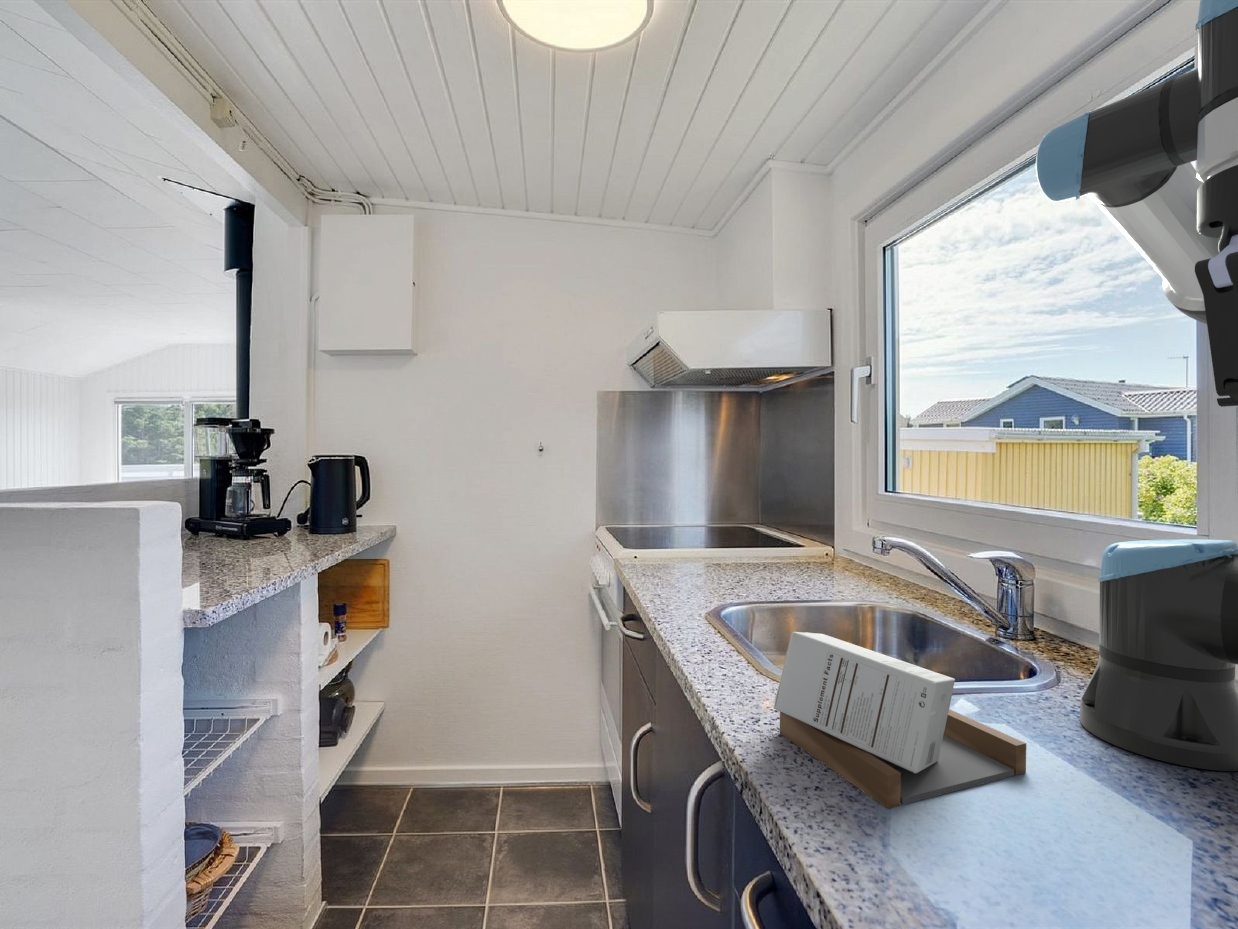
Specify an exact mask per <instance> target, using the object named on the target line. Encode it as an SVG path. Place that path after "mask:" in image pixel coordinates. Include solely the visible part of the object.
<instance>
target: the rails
mask: <svg viewBox="0 0 1238 929" xmlns="http://www.w3.org/2000/svg"><path fill="white" fill-rule="evenodd" d="M779 734H780V735H782V736H783V737H784V738H786V739H788V740H789V741H790V742H792V743H793V744H794V745H795V746H797V747H799V748H800V749H802V750H803V751H805V752H806V753H808V754H809V755H810V756H811V757H813V758H815V759H816V760H818V762H820V763H821V764H823V765H824V766H826V767H828V768H829V769H830V770H832V771H833V772H834V773H836V774H837V775H839V776H840V777H842V778H843V779H845V780H846V781H848V782H849V783H850V784H852V785H853V786H855V787H856V788H857V789H859V790H860V791H862V792H863V793H864V794H866V795H867V796H869V797H870V798H872V799H873V800H875V801H876V802H877V803H879V804H880V805H882V806H884V808H886V809H892V808H895V807H899V806H901V804H900V790H901V773H900V772H899V771H897V770H895V769H894V768H892V767H890V766H889V765H887V764H885V763H884V762H882V761H881V760H879V759H877V758H876V757H874V756H872V755H871V754H869V753H867V752H866V751H864V750H862V749H861V748H858V747H856V746H854V745H852V744H850V743H848V742H845V741H843V740H841V739H839V738H837V737H835V736H833V735H830V734H828V733H826V732H824V731H822V730H820V729H817V728H815V727H813V726H811V725H809V724H807V723H804V722H802V721H800V720H798V719H796V718H794V717H791V716H789V715H787V714H785V713H783V712H780V711H779ZM943 735H945V736H947V737H949V738H951V739H953V740H955V741H957V742H959V743H961V744H963V745H965V746H967V747H969V748H971V749H973V750H975V751H978V752H980V753H982V754H984V755H986V756H988V757H990V758H992V759H994V760H996V761H998V762H1000V763H1002V764H1004V765H1006V766H1008V767H1010V768H1012V769H1014V776H1017V775H1018V776H1019V775H1021V774H1026V773H1027V742H1025V741H1022V740H1020V739H1017V738H1015V737H1013V736H1011V735H1009V734H1007V733H1004V732H1002V731H1000V730H997V729H995V728H992V727H990V726H988V725H986V724H984V723H982V722H980V721H977V720H975V719H973V718H971V717H968V716H966V715H964V714H961V713H959V712H957V711H954V710H952V709H950V708H949V712H948V716H947V720H946V726H945V730H944V734H943Z"/></svg>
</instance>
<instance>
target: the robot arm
mask: <svg viewBox="0 0 1238 929" xmlns="http://www.w3.org/2000/svg"><path fill="white" fill-rule="evenodd" d="M1195 31H1197V32H1198V37H1197V38H1198V44H1197V45H1198V47H1197V48H1198V68H1195V69H1193V70H1190V71H1188V72H1185V73H1182V74H1181V75H1178V76H1176V77H1173V78H1172V79H1169V80H1167V81H1165V82H1162V83H1160V84H1157V85H1156V84H1155V86H1151V87H1149V88H1147V89H1144V90H1142V91H1139V92H1137V93H1133V94H1132V95H1129V96H1127V97H1125V98H1122V99H1119V100H1117V101H1114V102H1112V103H1109V104H1106V105H1105V106H1101V107H1099V108H1096V109H1094V110H1092V111H1088V112H1084V113H1083V114H1082V115H1081V116H1078V117H1076V118H1074V119H1072V120H1069V121H1067V122H1066V123H1064V124H1061V125H1060V126H1057V127H1055V128H1053V129H1051V130H1050V131H1048V132H1047V133H1045V135H1044V136H1043V137H1042V139H1041V140H1040V142H1039V144H1038V147H1037V150H1036V151H1037V152H1036V158H1035V171H1036V178H1037V182H1038V185H1039V188H1040V189H1041V192H1042V194H1043V195H1044V196H1045V197H1046V199H1047V200H1049V201H1051V202H1052V203H1054V202H1056V203H1064V202H1066V201H1071V200H1075V201H1077V200H1080V199H1081V198H1082V197H1085V196H1088V197H1089V198H1090V199H1091V200H1092V201H1093V202H1094V203H1095V204H1096V205H1097V206H1098V208H1099V209H1100V210H1101V211H1102V213H1104V214H1105V215H1106V217H1108V218H1109V220H1110V221H1111V222H1112V224H1114V225H1115V226H1116V227H1117V228H1118V230H1119V231H1120V232H1121V233H1122V234H1123V235H1124V236H1125V237H1126V239H1127V240H1128V241H1129V242H1130V244H1132V246H1134V248H1135V249H1136V250H1137V251H1138V252H1139V253H1140V254H1141V256H1142V257H1143V258H1144V259H1145V260H1146V261H1147V262H1148V263H1149V264H1150V266H1152V267H1153V269H1154V270H1155V271H1156V272H1157V273H1158V274H1159V276H1161V278H1162V290H1163V293H1164V295H1165V297H1166V299H1167V300H1168V301H1169V302H1170V303H1171V304H1172V306H1174V307H1175V308H1176V309H1177V310H1178V311H1179V312H1181V313H1182V314H1184V315H1185V316H1187V317H1189V318H1190V319H1193V320H1195V321H1198V322H1199V323H1201V324H1205V325H1206V327H1207V332H1208V340H1209V349H1210V356H1211V364H1212V371H1213V378H1214V379H1213V380H1214V386H1215V392H1216V394H1217V396H1218V397H1217V398H1216V402H1217V404H1218V406H1219V407H1221V408H1223V407H1225V408H1226V407H1236V414H1235V415H1236V418H1235V419H1236V421H1235V429H1236V430H1235V494H1234V495H1235V496H1238V0H1199V6H1198V17H1197V22H1196V23H1195ZM1195 161H1196V168H1195V167H1194V166H1193V164H1192V162H1195ZM1227 396H1229V397H1227ZM1100 567H1101V568H1100V576H1099V577H1097V578H1098V580H1097V581H1098V582H1099V631H1098V632H1099V634H1098V635H1099V637H1098V638H1099V639H1098V641H1099V642H1098V643H1099V644H1098V645H1099V649H1098V650H1099V651H1098V654H1099V655H1098V662H1097V665H1096V666H1095V669H1094V671H1093V673H1092V675H1091V677H1090V679H1089V682H1088V683H1087V686H1086V689H1085V691H1084V693H1083V695H1082V697H1081V699H1080V704H1079V722H1080V724H1081V725H1082V727H1084V728H1085V730H1087V731H1088V732H1090V733H1091V734H1092V735H1094V736H1096V737H1097V738H1099V739H1101V740H1103V741H1105V742H1107V743H1110V744H1112V745H1113V746H1116V747H1119V748H1121V749H1124V750H1127V751H1129V752H1131V753H1135V754H1138V755H1141V756H1143V757H1148V758H1151V759H1155V760H1158V761H1161V762H1164V763H1165V762H1166V763H1169V764H1175V765H1180V766H1183V767H1184V766H1185V767H1188V768H1194V769H1195V768H1196V769H1201V770H1208V771H1221V772H1223V771H1224V772H1238V690H1237V687H1236V665H1238V544H1237V542H1236V541H1234V540H1231V539H1204V538H1203V539H1201V538H1200V539H1198V538H1197V539H1195V538H1194V539H1193V538H1192V539H1191V538H1190V539H1188V538H1187V539H1185V538H1184V539H1179V538H1178V539H1150V540H1149V539H1147V540H1146V539H1145V540H1129V541H1120V542H1114V543H1112V544H1109V545H1108V546H1107V547H1106V548H1105V549H1104V550H1103V552H1102V556H1101V566H1100Z"/></svg>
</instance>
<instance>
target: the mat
mask: <svg viewBox="0 0 1238 929" xmlns="http://www.w3.org/2000/svg"><path fill="white" fill-rule="evenodd" d="M862 750H863V749H862ZM864 751H865V750H864ZM866 752H867V751H866ZM867 753H869V752H867ZM869 754H871V755H872V756H874V757H876V758H877V759H879V760H881V761H882V762H884V763H885V764H887V765H889V766H890V767H892V768H894V769H895V770H897V771H899V772H900V773H901V790H900V805H902V806H903V805H908V804H911V803H914V802H918V801H922V800H926V799H930V798H934V797H937V796H942V795H945V794H948V793H949V794H950V793H953V792H956V791H961V790H964V789H968V788H971V787H972V788H973V787H976V786H980V785H983V784H987V783H991V782H995V781H999V780H1003V779H1006V778H1010V777H1014V776H1015V774H1014V769H1012V768H1010V767H1008V766H1006V765H1004V764H1002V763H1000V762H998V761H996V760H994V759H992V758H990V757H988V756H986V755H984V754H982V753H980V752H978V751H975V750H973V749H971V748H969V747H967V746H965V745H963V744H961V743H959V742H957V741H955V740H953V739H951V738H949V737H947V736H945V735H943V739H942V744H941V749H940V754H939V759H938V761H937V762H935V763H933V764H932V765H930V766H928V767H927V768H925V769H923V770H921V771H920V772H918V773H913V772H911V771H909V770H907V769H905V768H902V767H900V766H898V765H896V764H893V763H891V762H889V761H887V760H885V759H882V758H880V757H878V756H876V755H874V754H872V753H869Z"/></svg>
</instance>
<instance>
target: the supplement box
mask: <svg viewBox="0 0 1238 929" xmlns="http://www.w3.org/2000/svg"><path fill="white" fill-rule="evenodd" d="M784 658H785V659H784V664H783V668H782V672H781V676H780V680H779V682H778V684H779V685H778V687H777V692H776V696H775V701H774V705H773V708H774V710H776V711H778V712H779V713H780V712H783V713H785V714H787V715H789V716H791V717H794V718H796V719H798V720H800V721H802V722H804V723H807V724H809V725H811V726H813V727H815V728H817V729H820V730H822V731H824V732H826V733H828V734H830V735H833V736H835V737H837V738H839V739H841V740H843V741H845V742H848V743H850V744H852V745H854V746H856V747H858V748H861V749H863V750H865V751H867V752H869V753H872V754H874V755H876V756H878V757H880V758H882V759H885V760H887V761H889V762H891V763H893V764H896V765H898V766H900V767H902V768H905V769H907V770H909V771H911V772H913V773H918V772H920V771H921V770H923V769H925V768H927V767H928V766H930V765H932V764H933V763H935V762H937V761H938V759H939V754H940V749H941V744H942V739H943V734H944V730H945V726H946V720H947V716H948V712H949V709H950V707H951V706H950V705H951V701H952V697H953V692H954V686H955V682H956V679H955V678H954V677H950V676H948V675H945V674H942V673H938V672H936V671H933V670H930V669H928V668H927V669H926V668H923V667H922V666H918V665H915V664H914V663H913V664H912V663H909V662H907V661H904V660H901V659H899V658H895V657H893V656H889V655H887V654H883V653H880V652H877V651H874V650H871V649H868V648H865V647H862V646H860V645H856V644H854V643H851V642H848V641H845V640H842V639H839V638H836V637H833V636H830V635H827V634H825V633H817V632H816V633H814V632H809V631H808V632H807V631H806V632H801V631H792V632H791V634H790V637H789V641H788V645H787V649H786V654H785V657H784Z"/></svg>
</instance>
